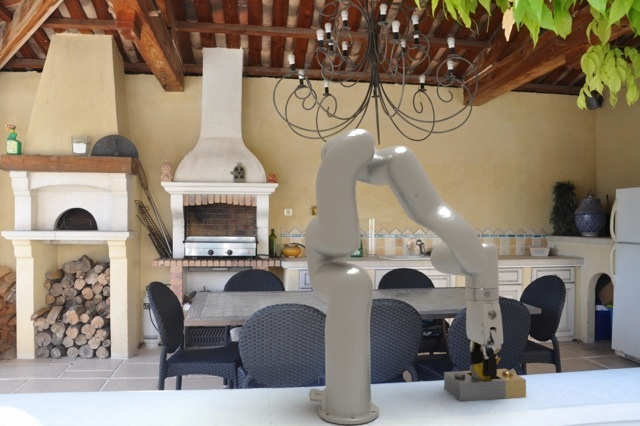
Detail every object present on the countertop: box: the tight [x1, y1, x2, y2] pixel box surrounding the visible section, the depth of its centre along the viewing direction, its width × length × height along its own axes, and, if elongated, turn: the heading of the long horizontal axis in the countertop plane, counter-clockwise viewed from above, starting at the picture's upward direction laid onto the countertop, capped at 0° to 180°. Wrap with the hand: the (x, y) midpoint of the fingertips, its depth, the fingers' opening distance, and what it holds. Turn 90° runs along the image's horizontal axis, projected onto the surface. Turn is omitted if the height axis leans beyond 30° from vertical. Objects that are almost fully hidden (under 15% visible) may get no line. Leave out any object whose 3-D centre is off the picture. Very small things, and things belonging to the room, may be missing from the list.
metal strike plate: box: [443, 368, 527, 402], centre depth 119 cm, size 16×9×5 cm, turn 99°
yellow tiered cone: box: [469, 356, 501, 380], centre depth 118 cm, size 5×5×10 cm
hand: (483, 371), depth 119 cm, fingers closed on yellow tiered cone, 5 cm apart
